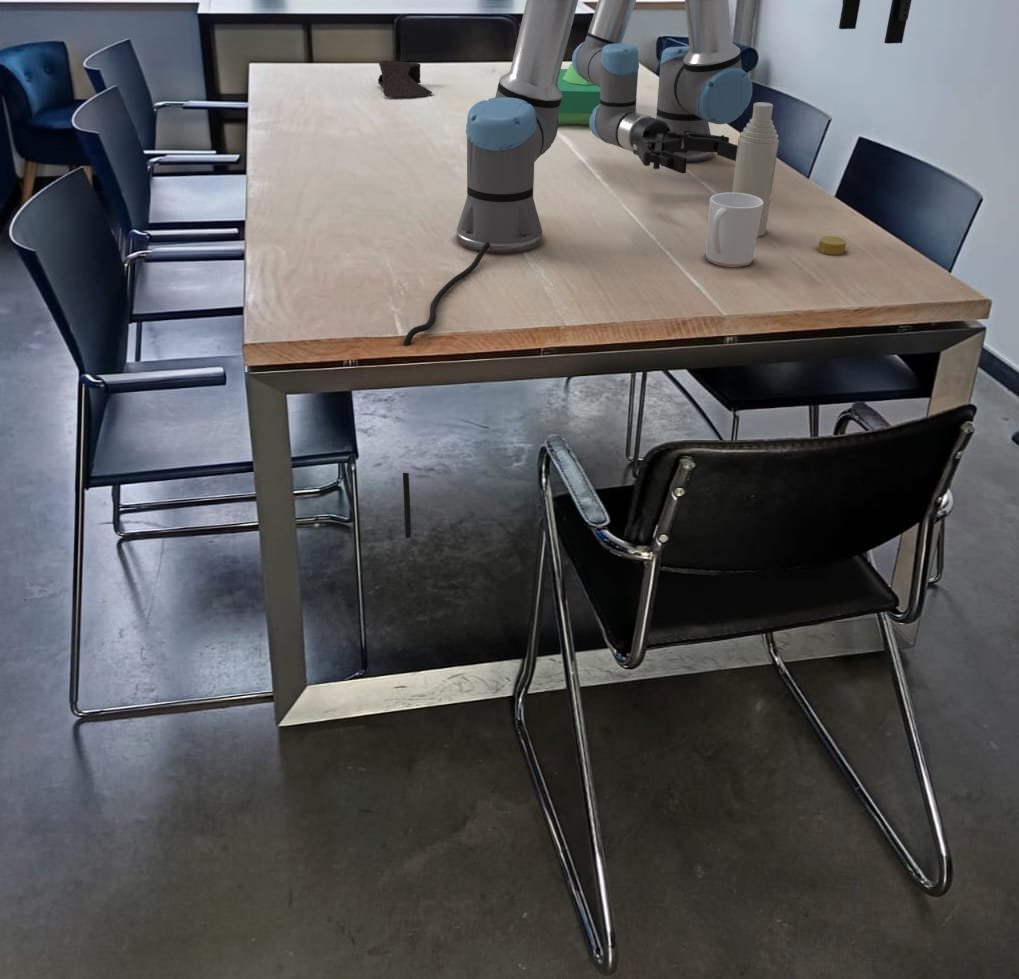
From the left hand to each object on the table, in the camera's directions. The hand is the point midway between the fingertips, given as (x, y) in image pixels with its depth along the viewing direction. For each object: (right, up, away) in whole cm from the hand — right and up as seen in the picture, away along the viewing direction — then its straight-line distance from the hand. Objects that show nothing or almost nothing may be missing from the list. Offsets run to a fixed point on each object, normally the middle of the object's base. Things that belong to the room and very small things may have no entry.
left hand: (869, 35), depth 176 cm
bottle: (-14, -25, +27) cm, 39 cm away
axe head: (-87, +36, +124) cm, 156 cm away
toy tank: (-40, +25, +107) cm, 117 cm away
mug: (-21, -34, +13) cm, 42 cm away
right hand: (-20, -11, +28) cm, 36 cm away
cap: (-1, -29, +18) cm, 34 cm away
